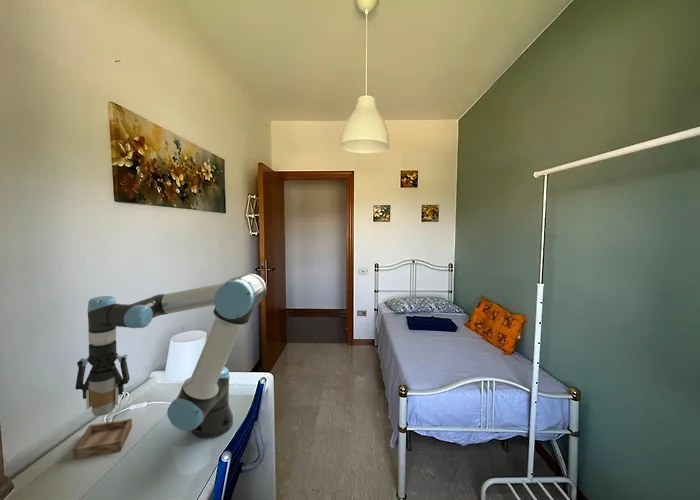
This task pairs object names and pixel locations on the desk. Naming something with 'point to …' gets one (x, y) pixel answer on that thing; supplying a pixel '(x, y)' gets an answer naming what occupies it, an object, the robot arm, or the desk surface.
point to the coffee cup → (102, 391)
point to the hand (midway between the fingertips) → (103, 404)
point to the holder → (103, 438)
